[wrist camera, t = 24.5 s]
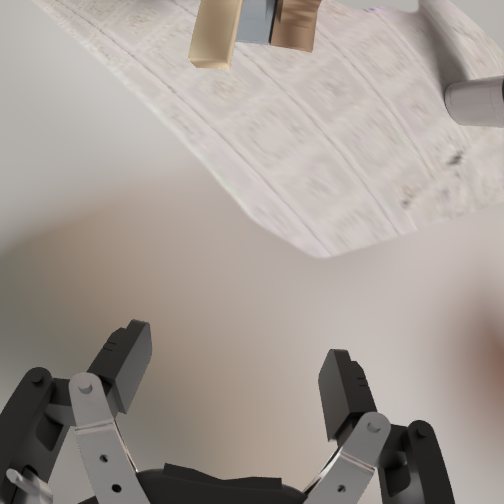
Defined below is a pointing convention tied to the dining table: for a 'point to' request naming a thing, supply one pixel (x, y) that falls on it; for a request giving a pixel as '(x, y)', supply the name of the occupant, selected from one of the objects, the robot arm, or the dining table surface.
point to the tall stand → (295, 24)
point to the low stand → (255, 21)
